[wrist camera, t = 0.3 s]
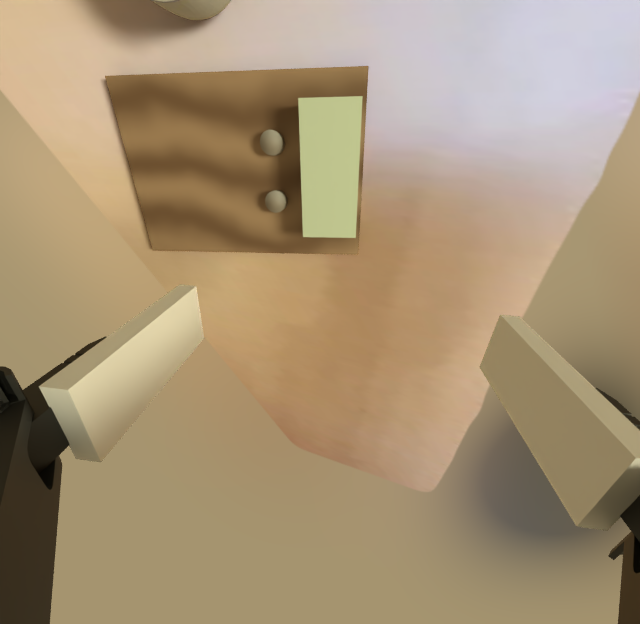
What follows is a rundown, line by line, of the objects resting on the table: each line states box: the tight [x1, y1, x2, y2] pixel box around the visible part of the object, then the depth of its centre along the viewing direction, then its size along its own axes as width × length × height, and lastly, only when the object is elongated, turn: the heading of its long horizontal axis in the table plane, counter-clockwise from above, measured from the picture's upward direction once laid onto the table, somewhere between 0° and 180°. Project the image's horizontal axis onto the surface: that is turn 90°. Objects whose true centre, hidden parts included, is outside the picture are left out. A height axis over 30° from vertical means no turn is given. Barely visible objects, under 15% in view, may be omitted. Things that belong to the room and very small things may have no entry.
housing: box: [298, 96, 363, 238], centre depth 32 cm, size 13×6×4 cm, turn 1°
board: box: [105, 66, 368, 255], centre depth 34 cm, size 19×28×3 cm
